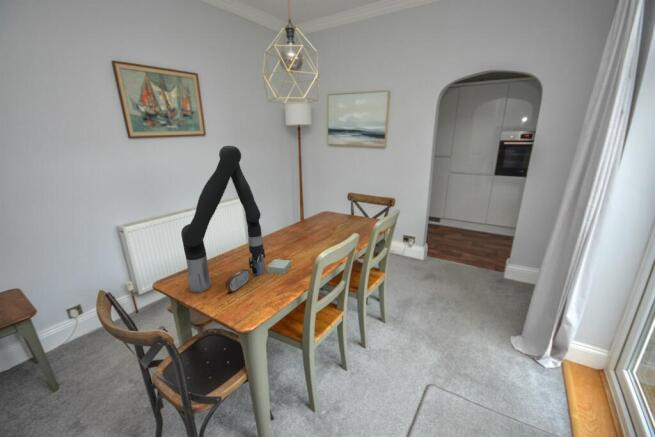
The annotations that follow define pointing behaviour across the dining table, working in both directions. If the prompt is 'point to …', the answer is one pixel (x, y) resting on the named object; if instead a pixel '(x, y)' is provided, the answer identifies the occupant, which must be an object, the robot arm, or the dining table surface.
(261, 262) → the slate block
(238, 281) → the tin
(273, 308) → the dining table surface
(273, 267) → the sage tile
